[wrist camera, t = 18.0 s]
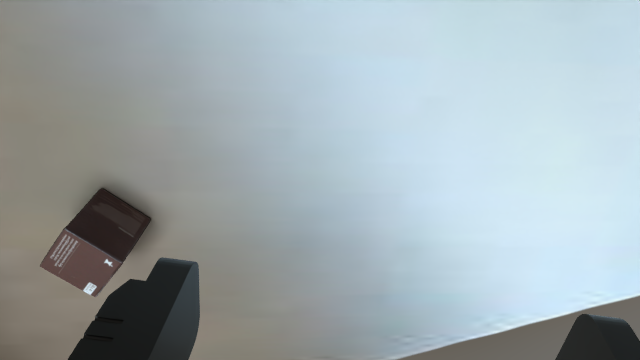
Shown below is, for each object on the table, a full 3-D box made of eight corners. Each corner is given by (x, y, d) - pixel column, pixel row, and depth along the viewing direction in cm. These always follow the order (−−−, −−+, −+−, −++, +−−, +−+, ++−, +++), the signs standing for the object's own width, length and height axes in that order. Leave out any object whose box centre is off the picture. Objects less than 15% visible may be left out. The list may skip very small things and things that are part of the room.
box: (102, 185, 49) (63, 227, 43) (153, 218, 51) (123, 263, 44) (76, 222, 52) (37, 266, 45) (126, 252, 53) (94, 299, 47)
